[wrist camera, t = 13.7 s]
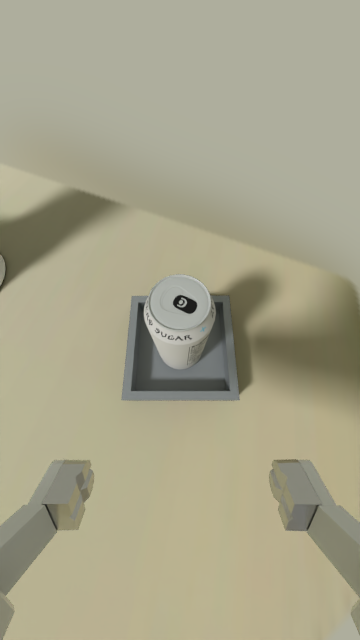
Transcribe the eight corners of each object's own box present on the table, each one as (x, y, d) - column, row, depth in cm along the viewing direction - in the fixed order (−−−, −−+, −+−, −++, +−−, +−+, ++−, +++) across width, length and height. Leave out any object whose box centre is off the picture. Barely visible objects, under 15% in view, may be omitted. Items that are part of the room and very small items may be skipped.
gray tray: (128, 400, 28) (121, 400, 25) (136, 306, 33) (131, 296, 30) (232, 400, 28) (239, 400, 25) (224, 306, 33) (229, 295, 30)
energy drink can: (172, 322, 31) (164, 257, 17) (208, 340, 30) (231, 286, 16) (151, 357, 29) (124, 316, 15) (189, 378, 28) (197, 354, 14)
